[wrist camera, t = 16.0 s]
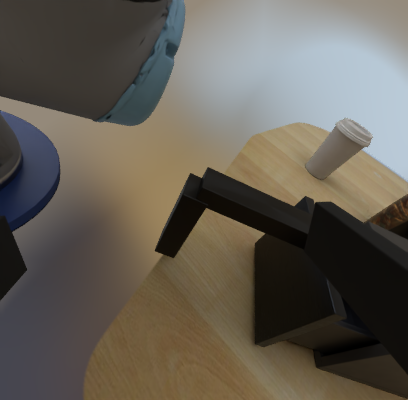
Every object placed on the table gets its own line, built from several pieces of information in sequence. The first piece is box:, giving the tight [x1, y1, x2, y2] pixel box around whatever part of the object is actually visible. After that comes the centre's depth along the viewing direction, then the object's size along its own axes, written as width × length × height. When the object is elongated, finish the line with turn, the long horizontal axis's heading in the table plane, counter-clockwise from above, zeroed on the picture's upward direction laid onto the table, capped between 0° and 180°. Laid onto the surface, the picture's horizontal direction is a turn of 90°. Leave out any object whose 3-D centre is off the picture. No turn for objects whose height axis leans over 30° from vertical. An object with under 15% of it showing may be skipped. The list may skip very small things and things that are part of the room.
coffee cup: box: [305, 118, 373, 179], centre depth 60 cm, size 10×10×15 cm
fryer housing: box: [314, 221, 408, 399], centre depth 29 cm, size 16×14×13 cm
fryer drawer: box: [155, 167, 380, 355], centre depth 26 cm, size 30×14×13 cm, turn 79°
